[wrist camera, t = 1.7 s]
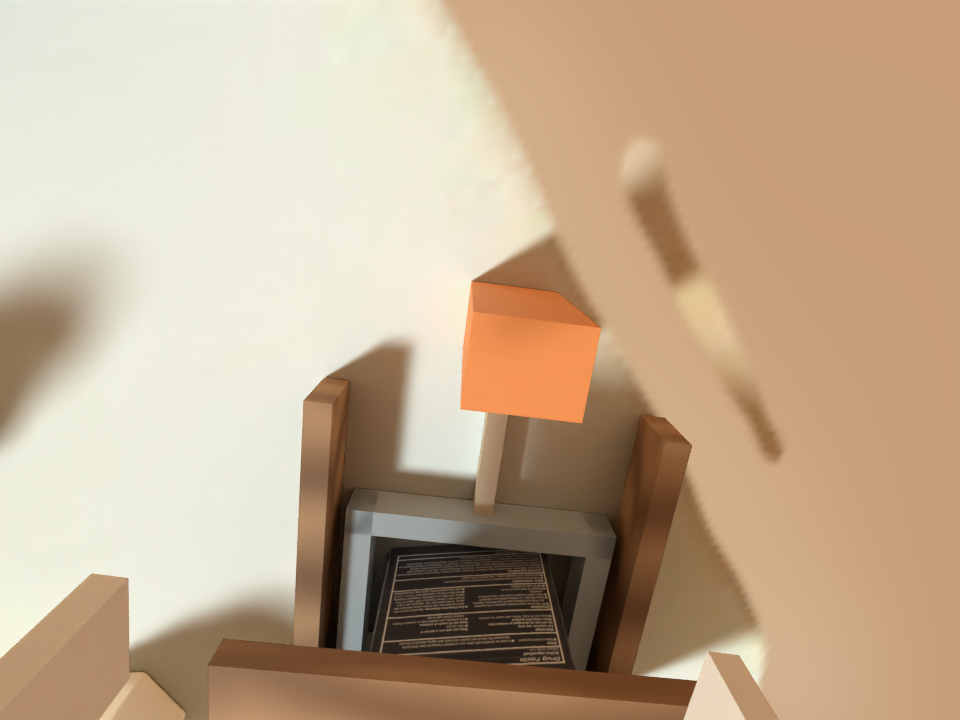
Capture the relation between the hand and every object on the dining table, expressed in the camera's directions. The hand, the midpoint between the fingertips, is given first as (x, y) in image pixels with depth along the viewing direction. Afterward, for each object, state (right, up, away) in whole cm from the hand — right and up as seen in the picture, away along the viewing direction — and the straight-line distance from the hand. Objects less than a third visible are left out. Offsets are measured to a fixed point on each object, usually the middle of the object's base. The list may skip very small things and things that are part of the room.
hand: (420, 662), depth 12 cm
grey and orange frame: (+2, -2, +21) cm, 21 cm away
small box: (+1, -8, +23) cm, 25 cm away
